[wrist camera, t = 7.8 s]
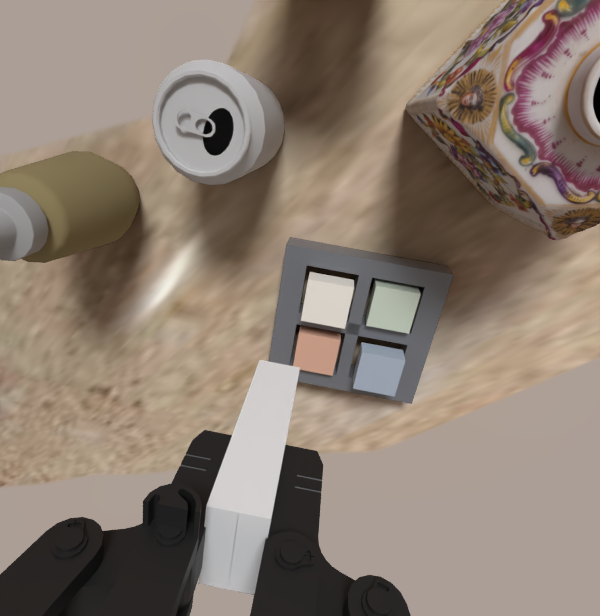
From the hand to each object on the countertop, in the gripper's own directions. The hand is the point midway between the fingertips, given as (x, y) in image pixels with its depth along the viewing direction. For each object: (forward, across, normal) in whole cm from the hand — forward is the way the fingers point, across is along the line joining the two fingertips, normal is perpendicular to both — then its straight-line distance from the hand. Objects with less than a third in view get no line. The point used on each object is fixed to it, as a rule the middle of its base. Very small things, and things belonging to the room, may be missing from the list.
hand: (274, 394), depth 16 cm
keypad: (+26, +5, -8) cm, 28 cm away
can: (+27, -8, +8) cm, 29 cm away
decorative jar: (+27, +13, +13) cm, 32 cm away
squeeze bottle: (+27, -20, 0) cm, 33 cm away
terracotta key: (+26, +2, -11) cm, 28 cm away
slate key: (+25, +8, -11) cm, 28 cm away
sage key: (+26, +8, -5) cm, 28 cm away
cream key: (+25, +2, -5) cm, 25 cm away
